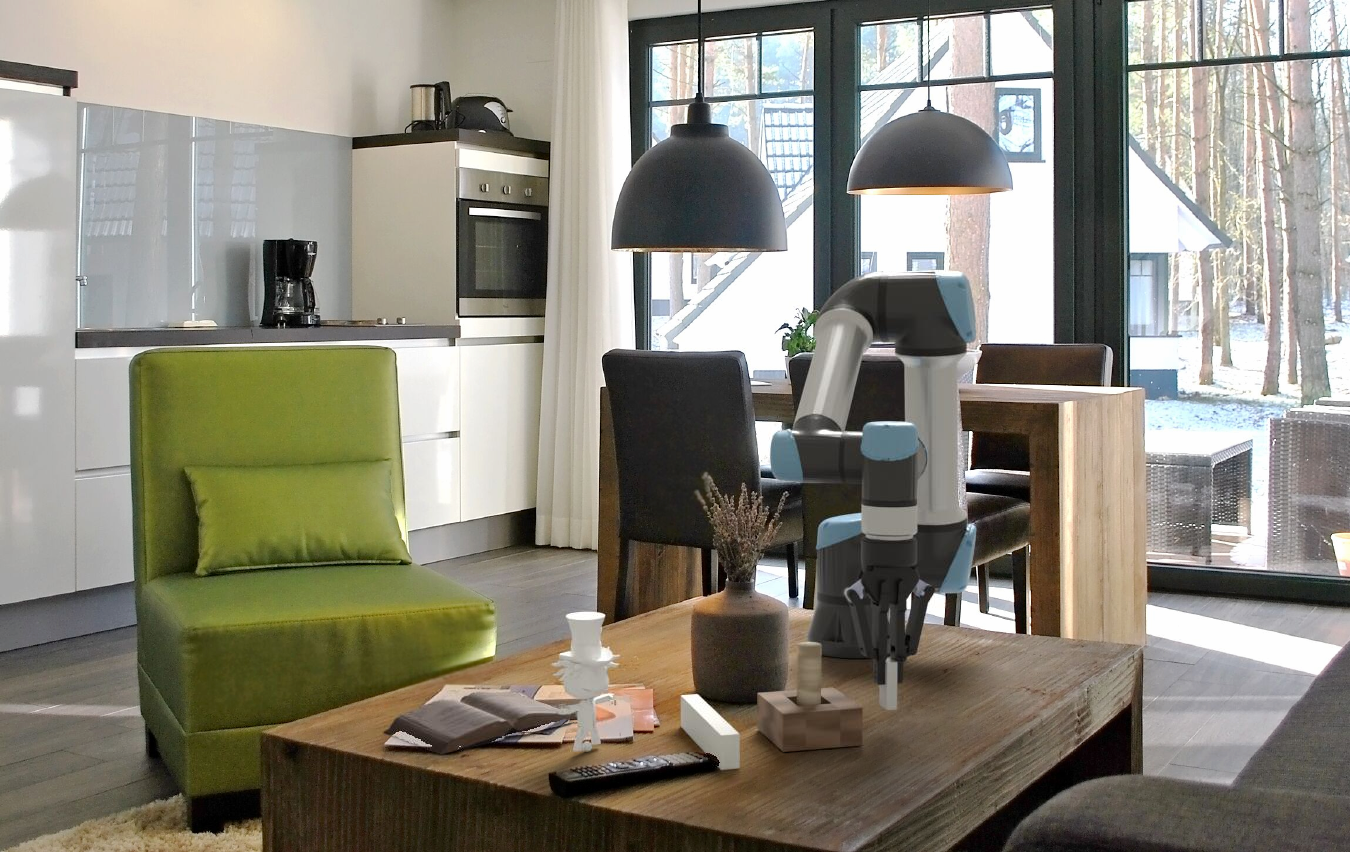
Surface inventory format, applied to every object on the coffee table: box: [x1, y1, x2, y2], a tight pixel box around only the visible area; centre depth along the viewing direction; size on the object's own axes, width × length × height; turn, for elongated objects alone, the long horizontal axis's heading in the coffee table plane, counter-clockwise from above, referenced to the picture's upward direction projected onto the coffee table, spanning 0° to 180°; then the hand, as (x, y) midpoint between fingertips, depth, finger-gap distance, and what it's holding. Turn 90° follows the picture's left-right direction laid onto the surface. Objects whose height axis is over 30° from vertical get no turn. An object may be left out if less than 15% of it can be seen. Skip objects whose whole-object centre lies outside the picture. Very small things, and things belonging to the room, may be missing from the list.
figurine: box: [550, 611, 621, 753], centre depth 183 cm, size 10×8×18 cm
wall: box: [680, 693, 741, 771], centre depth 186 cm, size 20×2×4 cm, turn 14°
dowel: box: [796, 641, 823, 706], centre depth 189 cm, size 3×3×12 cm
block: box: [756, 686, 863, 753], centre depth 189 cm, size 11×11×5 cm
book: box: [382, 691, 577, 755], centre depth 196 cm, size 20×28×4 cm
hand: (888, 707), depth 192 cm, fingers closed
